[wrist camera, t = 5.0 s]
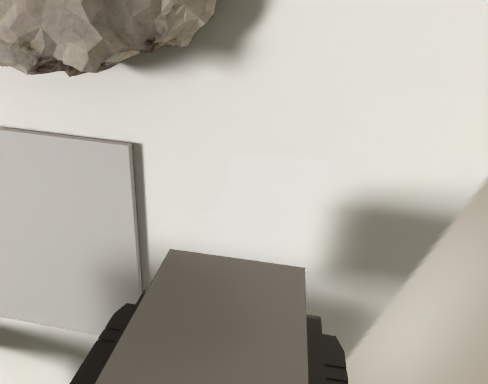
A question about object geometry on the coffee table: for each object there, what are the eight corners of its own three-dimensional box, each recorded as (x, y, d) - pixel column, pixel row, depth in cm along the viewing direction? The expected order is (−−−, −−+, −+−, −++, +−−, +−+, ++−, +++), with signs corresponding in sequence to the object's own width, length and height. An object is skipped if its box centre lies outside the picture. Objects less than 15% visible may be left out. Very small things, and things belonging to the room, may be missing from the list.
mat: (-93, 115, 17) (-102, 117, 17) (132, 143, 16) (127, 145, 16) (-25, 307, 23) (-30, 311, 22) (145, 338, 22) (142, 342, 21)
